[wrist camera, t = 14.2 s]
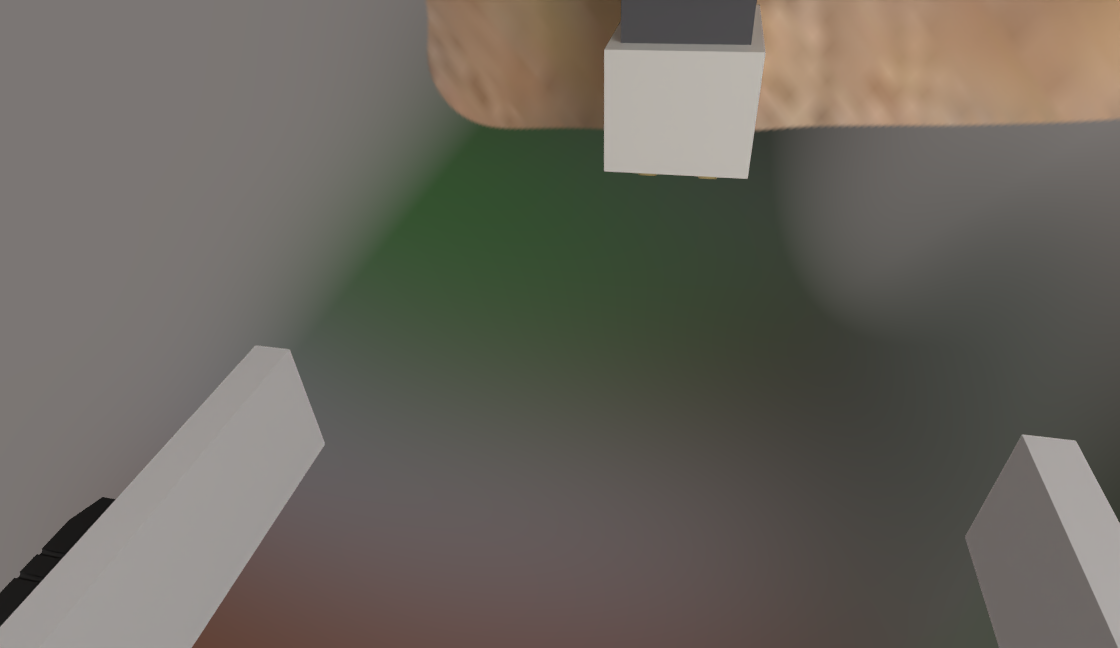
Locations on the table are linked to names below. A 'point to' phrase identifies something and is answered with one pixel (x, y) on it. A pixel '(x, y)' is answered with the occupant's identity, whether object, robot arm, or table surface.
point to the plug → (683, 87)
